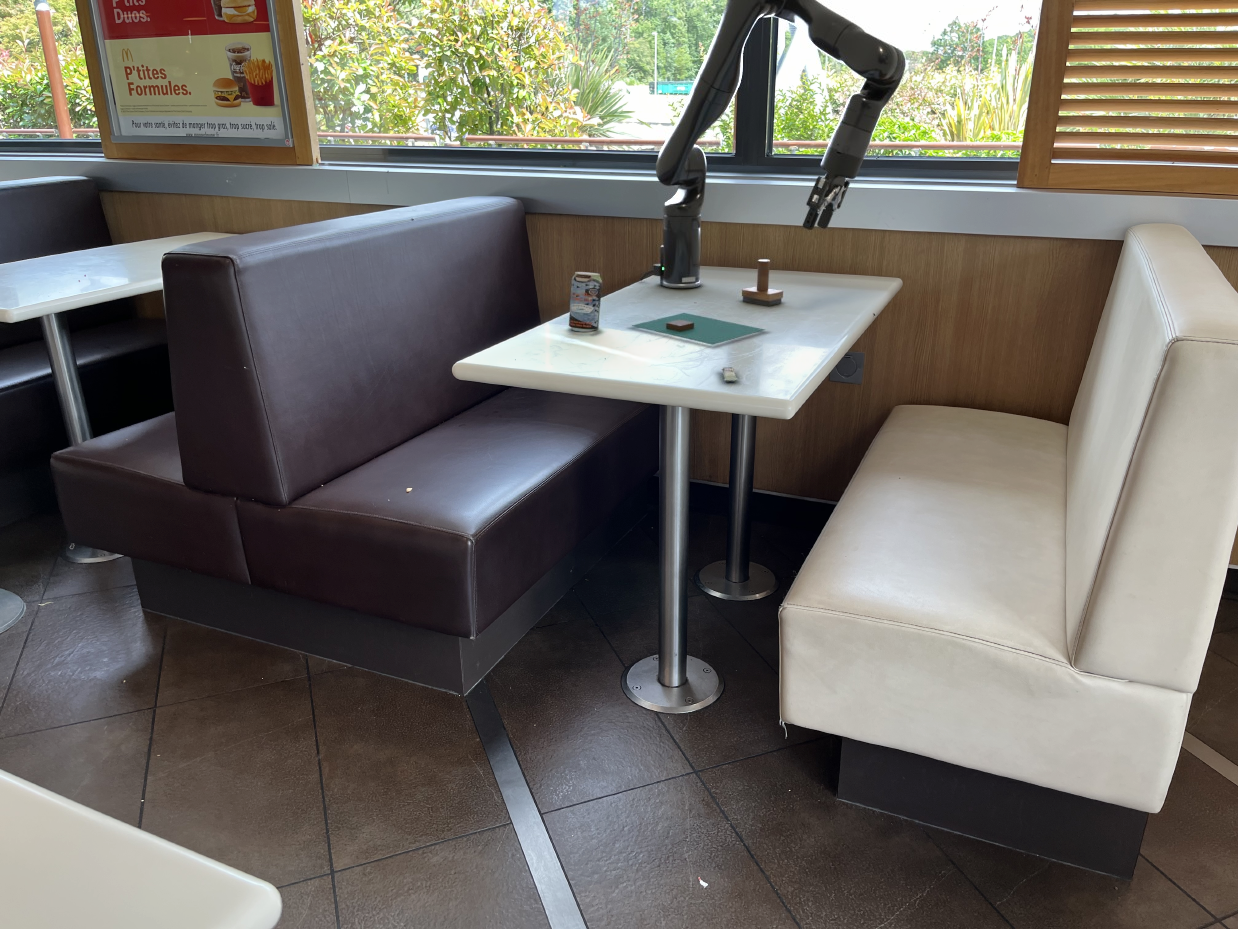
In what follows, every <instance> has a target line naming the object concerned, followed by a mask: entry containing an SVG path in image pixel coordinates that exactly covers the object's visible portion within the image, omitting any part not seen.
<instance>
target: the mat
mask: <svg viewBox="0 0 1238 929" xmlns="http://www.w3.org/2000/svg"><path fill="white" fill-rule="evenodd" d="M676 320H684V321H689V322H694V328H693V329H689V330H685V331H682V332H679V331H675V330H671V329H666V323H668V322H672V321H676ZM631 327H635V328H639V329H644V330H648V331H653V332H656V333H660V334H665V335H668V336H673V337H678V338H682V339H687V340H690V341H695V342H699V343H704V344H707V345H708V344H709V345H716V344H720V343H724V342H727V341H732V340H735V339H738V338H741V337H746V336H748V335H752V334H756V333H759V332H762V331H765V330H766V329H764V328H761V327H755V326H750V325H745V324H742V323H741V324H740V323H735V322H731V321H727V320H721V319H717V318H712V317H706V316H701V315H697V314H696V315H695V314H692V313H688V312H682V313H678V314H673V315H670V316H665V317H661V318H657V319H653V320H648V321H645V322H640V323H637V324H633V325H631Z"/></svg>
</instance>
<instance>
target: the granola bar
mask: <svg viewBox="0 0 1238 929" xmlns="http://www.w3.org/2000/svg"><path fill="white" fill-rule="evenodd" d="M734 370H735V368H733V367H731V366H725V367H722V368H721V370H720V371H722V374H723V377H724V379H723V380H724V381H725V382H737V381H738V380H739V379H738V378H737V376H736V373H735V371H734Z"/></svg>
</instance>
